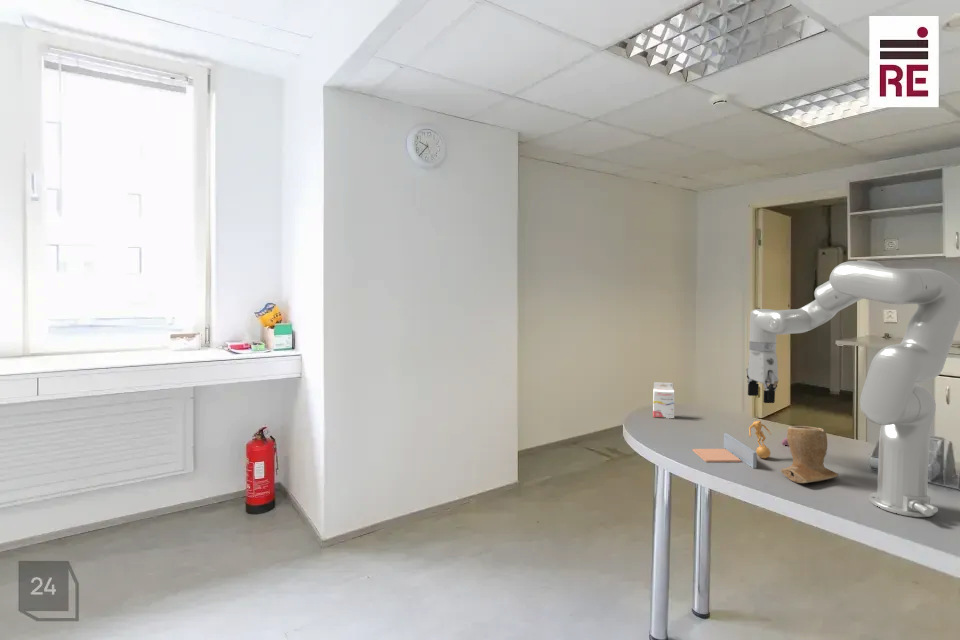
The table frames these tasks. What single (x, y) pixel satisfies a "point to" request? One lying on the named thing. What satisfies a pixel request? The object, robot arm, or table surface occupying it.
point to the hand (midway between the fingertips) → (760, 399)
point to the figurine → (761, 450)
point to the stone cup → (807, 455)
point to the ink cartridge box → (663, 400)
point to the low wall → (740, 450)
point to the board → (716, 455)
